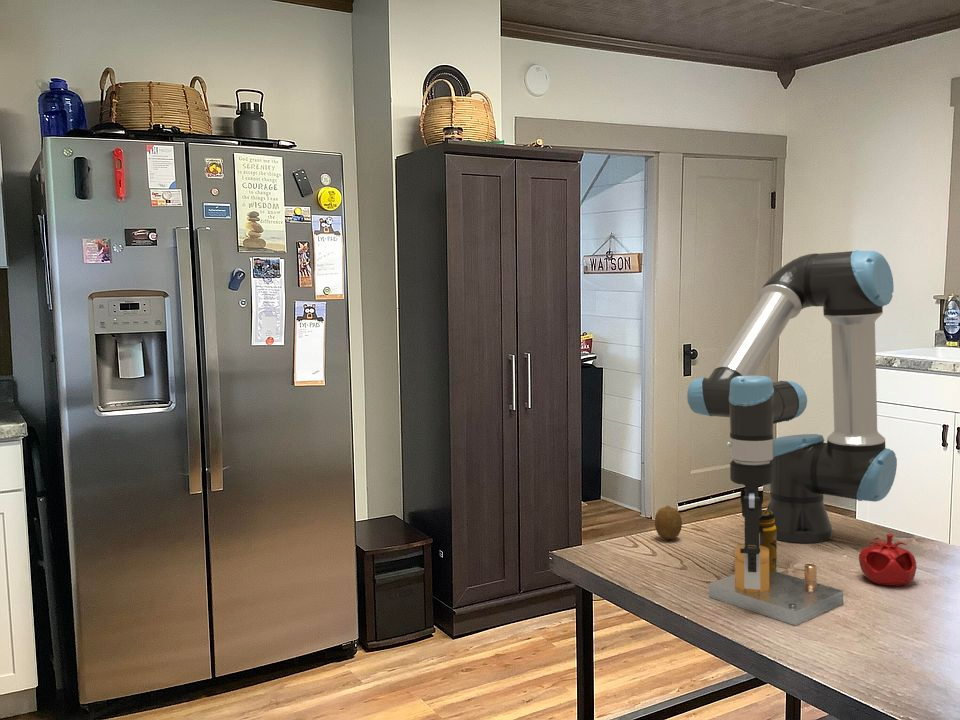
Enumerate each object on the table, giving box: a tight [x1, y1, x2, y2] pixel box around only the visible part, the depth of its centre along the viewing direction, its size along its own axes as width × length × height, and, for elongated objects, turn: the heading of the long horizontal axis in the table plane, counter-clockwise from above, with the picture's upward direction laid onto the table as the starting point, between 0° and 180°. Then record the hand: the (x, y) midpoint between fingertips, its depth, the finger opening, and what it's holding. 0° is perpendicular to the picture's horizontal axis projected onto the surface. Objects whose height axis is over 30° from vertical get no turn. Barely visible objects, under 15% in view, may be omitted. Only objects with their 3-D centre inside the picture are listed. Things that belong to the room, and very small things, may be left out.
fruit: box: [654, 505, 683, 541], centre depth 190 cm, size 6×6×8 cm
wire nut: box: [734, 543, 770, 592], centre depth 151 cm, size 6×6×7 cm
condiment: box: [729, 509, 786, 573], centre depth 167 cm, size 7×8×12 cm
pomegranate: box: [858, 533, 917, 587], centre depth 159 cm, size 10×10×9 cm
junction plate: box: [708, 563, 844, 626], centre depth 151 cm, size 15×18×7 cm
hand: (752, 577), depth 151 cm, fingers open, 11 cm apart
